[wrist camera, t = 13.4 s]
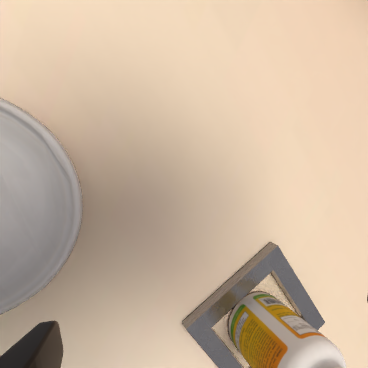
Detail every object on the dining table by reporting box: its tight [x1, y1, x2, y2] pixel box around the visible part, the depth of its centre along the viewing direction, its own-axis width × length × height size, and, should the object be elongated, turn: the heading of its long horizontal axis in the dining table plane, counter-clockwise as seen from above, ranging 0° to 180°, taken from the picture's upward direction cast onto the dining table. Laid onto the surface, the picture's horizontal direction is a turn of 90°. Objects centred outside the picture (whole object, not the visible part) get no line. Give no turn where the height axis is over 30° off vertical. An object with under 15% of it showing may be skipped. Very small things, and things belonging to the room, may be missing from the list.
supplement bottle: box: [228, 292, 346, 368], centre depth 20 cm, size 5×5×10 cm
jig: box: [182, 242, 325, 368], centre depth 24 cm, size 10×10×1 cm
